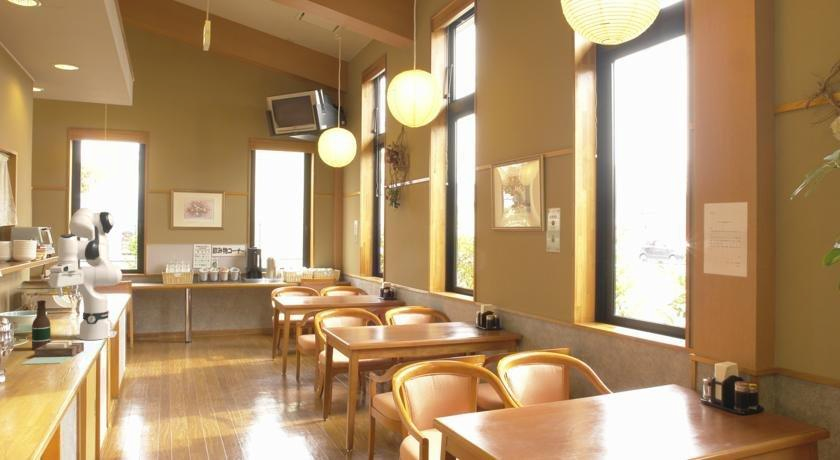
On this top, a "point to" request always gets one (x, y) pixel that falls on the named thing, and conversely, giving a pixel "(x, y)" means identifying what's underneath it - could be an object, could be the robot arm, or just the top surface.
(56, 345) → the birch tile
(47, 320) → the beer bottle
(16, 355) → the top surface
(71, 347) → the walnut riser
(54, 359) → the rubber mat
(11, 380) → the top surface
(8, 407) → the top surface
